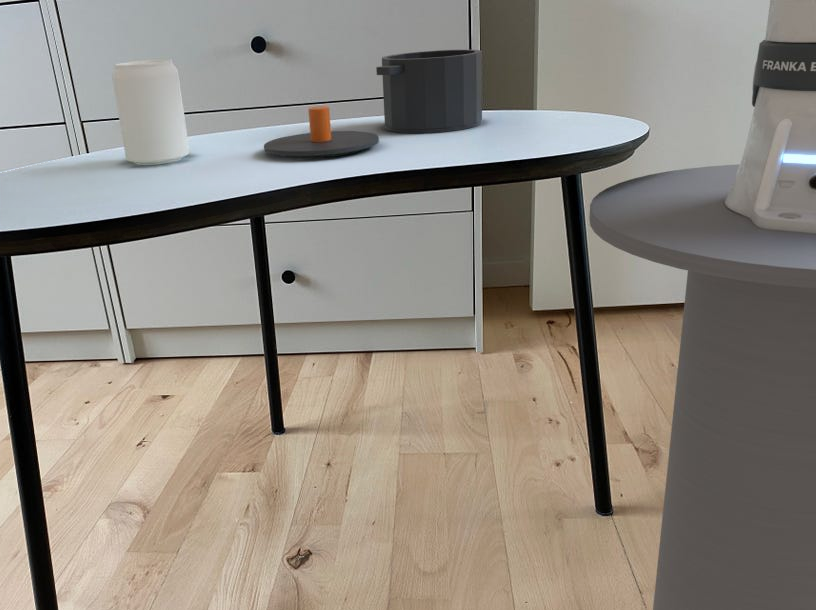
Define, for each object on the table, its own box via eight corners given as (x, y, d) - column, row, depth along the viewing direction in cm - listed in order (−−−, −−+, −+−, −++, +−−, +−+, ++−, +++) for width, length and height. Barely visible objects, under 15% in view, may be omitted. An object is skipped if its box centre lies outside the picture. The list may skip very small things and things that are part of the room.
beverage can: (132, 169, 103) (115, 67, 98) (122, 160, 109) (105, 64, 105) (196, 160, 105) (182, 60, 100) (182, 151, 112) (169, 57, 107)
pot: (512, 117, 119) (513, 47, 115) (422, 139, 108) (420, 61, 104) (441, 113, 128) (439, 48, 125) (351, 132, 117) (347, 61, 113)
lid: (403, 144, 105) (401, 102, 103) (315, 165, 96) (312, 119, 94) (326, 137, 115) (324, 98, 113) (241, 155, 106) (237, 113, 104)
